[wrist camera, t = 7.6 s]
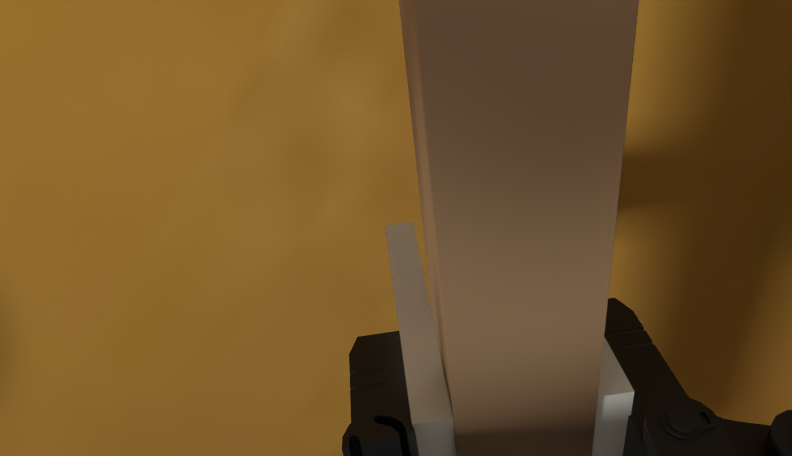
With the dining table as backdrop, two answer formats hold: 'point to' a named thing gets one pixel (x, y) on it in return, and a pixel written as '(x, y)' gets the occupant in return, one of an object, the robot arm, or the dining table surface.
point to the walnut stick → (519, 207)
